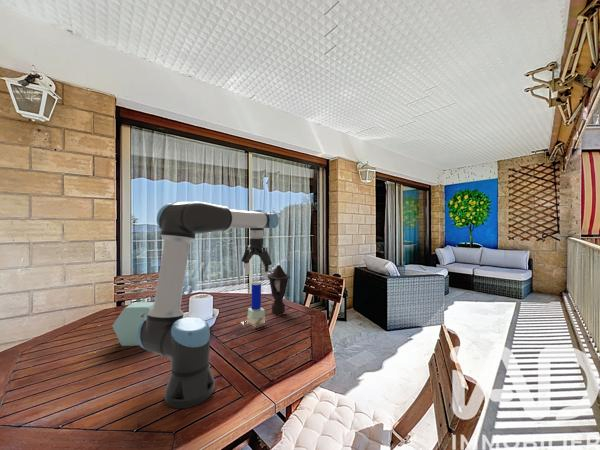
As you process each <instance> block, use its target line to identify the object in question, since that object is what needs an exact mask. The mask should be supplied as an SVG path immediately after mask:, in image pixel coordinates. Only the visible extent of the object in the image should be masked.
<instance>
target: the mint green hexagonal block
mask: <svg viewBox="0 0 600 450" xmlns="http://www.w3.org/2000/svg"><path fill="white" fill-rule="evenodd" d="M154 302H155V301H140V302H139V301H134V302H131V304H129V305H127V306H125V307H124V308H123V309H122V311H121V312H120V314H119V315H118V316H117V318H116V319H115V320H114V322H113V324H112V329H113V331H114V333H115V335H116V337H117V340H118V341H119V343H120V346H121V347H129V346H130V347H131V346H132V347H133V346H140V345H139V343H138V341H137V331H138V328H139V326H140V324H141V323H143V320H144V319H145V318H147V315H148V312H149V311H151V310H152V309H153V308H154Z"/></svg>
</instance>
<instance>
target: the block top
mask: <svg viewBox="0 0 600 450" xmlns="http://www.w3.org/2000/svg"><path fill="white" fill-rule="evenodd" d="M265 311H266V310H265V309H264V308H263V307H261V309H260V310H252V309H251V307H248V308H247V316H249V317H250V318H251V319H252V320H253V319H258V318H263V317H265V318H266V316H265Z"/></svg>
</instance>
